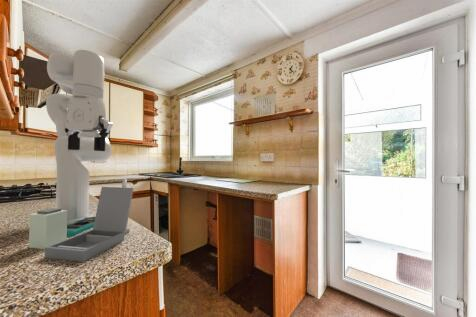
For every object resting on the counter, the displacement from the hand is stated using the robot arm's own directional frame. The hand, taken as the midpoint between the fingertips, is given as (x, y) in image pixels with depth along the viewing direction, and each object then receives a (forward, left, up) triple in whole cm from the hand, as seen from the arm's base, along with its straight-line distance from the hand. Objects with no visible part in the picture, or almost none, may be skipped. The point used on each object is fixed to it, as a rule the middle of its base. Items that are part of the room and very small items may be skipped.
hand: (86, 150), depth 60 cm
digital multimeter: (-4, +3, -26) cm, 27 cm away
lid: (+11, -2, -17) cm, 20 cm away
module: (-1, -9, -26) cm, 27 cm away
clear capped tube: (+12, +1, -26) cm, 28 cm away
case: (+11, -9, -26) cm, 29 cm away
